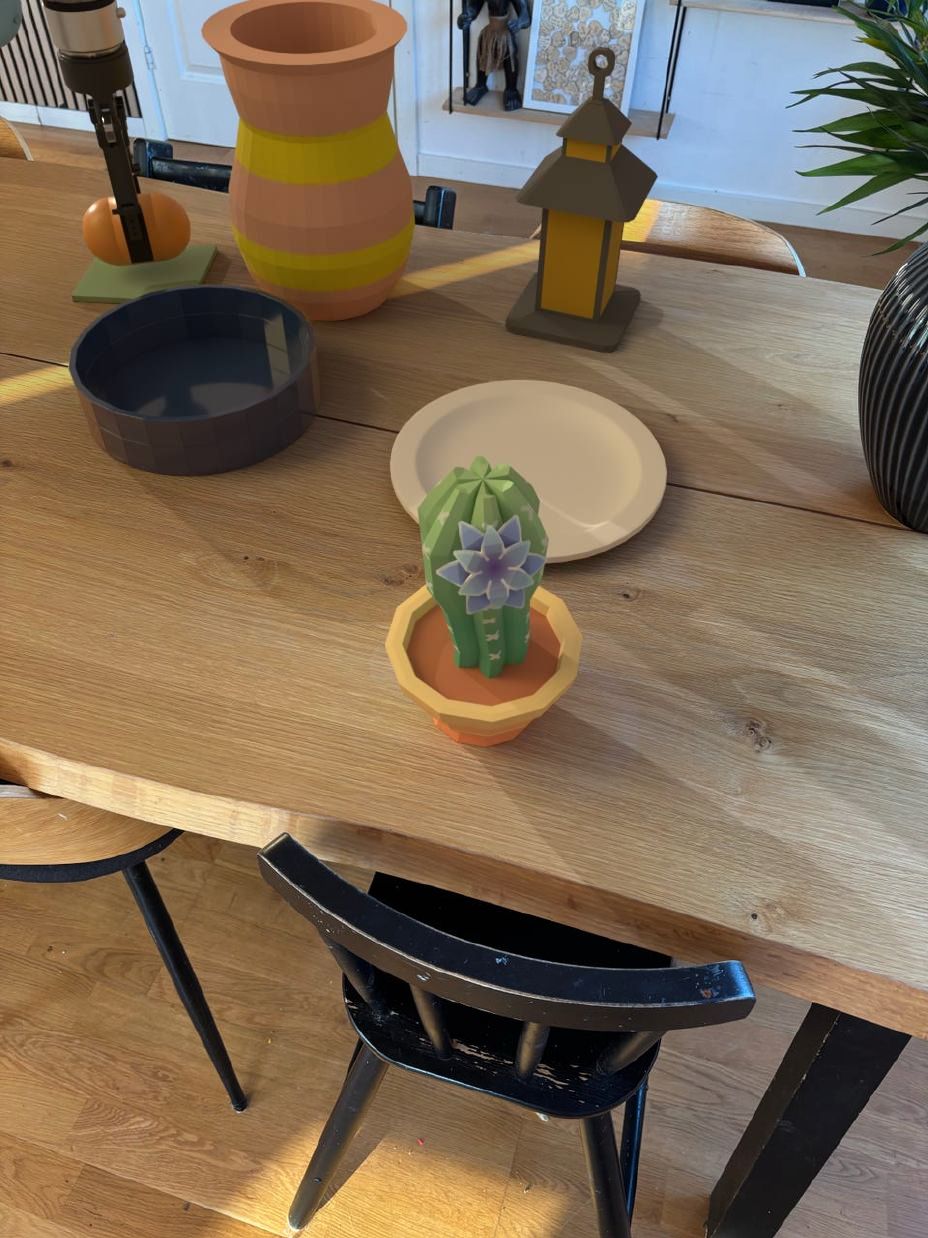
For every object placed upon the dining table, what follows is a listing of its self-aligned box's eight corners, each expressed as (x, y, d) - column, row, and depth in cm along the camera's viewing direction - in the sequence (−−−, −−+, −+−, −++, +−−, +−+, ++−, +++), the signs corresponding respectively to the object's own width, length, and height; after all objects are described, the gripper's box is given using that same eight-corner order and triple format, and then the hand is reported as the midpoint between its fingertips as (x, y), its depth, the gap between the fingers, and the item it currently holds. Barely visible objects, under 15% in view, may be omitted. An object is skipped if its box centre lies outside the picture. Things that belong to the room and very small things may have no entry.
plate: (703, 554, 94) (708, 536, 92) (415, 594, 90) (415, 576, 88) (615, 384, 112) (618, 367, 110) (373, 411, 108) (371, 394, 106)
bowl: (54, 468, 101) (32, 413, 96) (127, 332, 118) (112, 278, 113) (298, 482, 100) (289, 427, 95) (336, 343, 117) (331, 289, 112)
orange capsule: (93, 282, 121) (74, 219, 115) (91, 250, 126) (73, 189, 120) (199, 268, 124) (186, 206, 118) (193, 238, 129) (180, 177, 123)
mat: (72, 301, 122) (70, 295, 122) (107, 245, 132) (105, 239, 131) (191, 307, 122) (190, 301, 121) (217, 250, 131) (216, 245, 131)
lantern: (537, 274, 128) (556, 17, 106) (642, 296, 125) (685, 35, 102) (502, 330, 119) (515, 62, 97) (614, 354, 116) (655, 83, 94)
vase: (436, 257, 131) (434, 2, 108) (387, 348, 116) (373, 76, 94) (281, 235, 134) (248, -16, 112) (215, 321, 120) (161, 52, 97)
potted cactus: (354, 736, 80) (326, 505, 61) (441, 609, 89) (439, 375, 70) (529, 810, 75) (556, 586, 57) (600, 669, 84) (644, 437, 66)
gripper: (132, 77, 101) (178, 281, 118) (121, 10, 114) (164, 202, 131) (56, 84, 99) (113, 289, 116) (54, 15, 112) (106, 209, 129)
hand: (140, 243), depth 124 cm, fingers closed on orange capsule, 8 cm apart
